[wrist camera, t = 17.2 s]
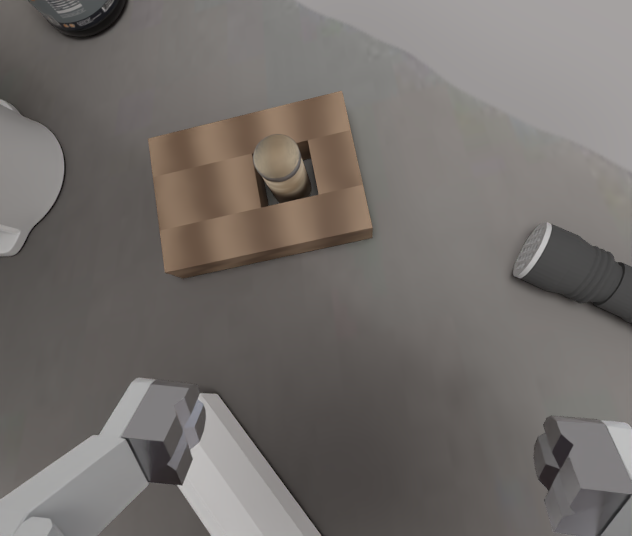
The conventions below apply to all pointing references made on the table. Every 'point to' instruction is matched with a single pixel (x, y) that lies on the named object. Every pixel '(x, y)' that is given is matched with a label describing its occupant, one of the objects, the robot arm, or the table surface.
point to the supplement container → (79, 14)
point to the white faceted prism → (238, 483)
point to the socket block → (255, 189)
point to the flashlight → (575, 270)
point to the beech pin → (282, 168)
